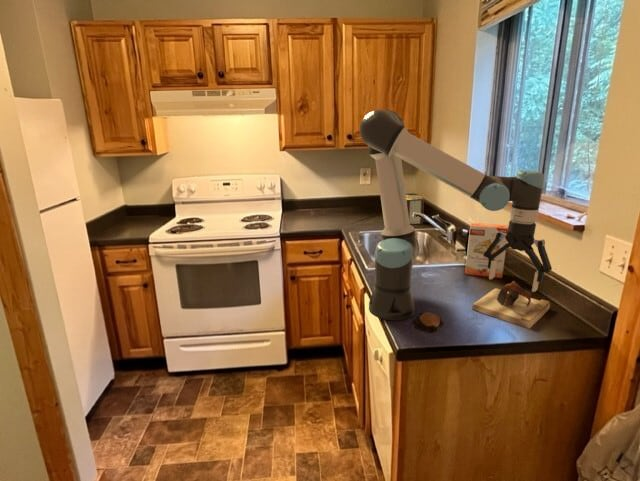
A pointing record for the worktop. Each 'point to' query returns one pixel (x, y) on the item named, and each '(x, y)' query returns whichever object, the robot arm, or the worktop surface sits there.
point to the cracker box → (484, 249)
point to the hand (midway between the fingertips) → (512, 284)
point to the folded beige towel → (512, 309)
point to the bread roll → (427, 322)
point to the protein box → (415, 208)
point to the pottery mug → (513, 293)
